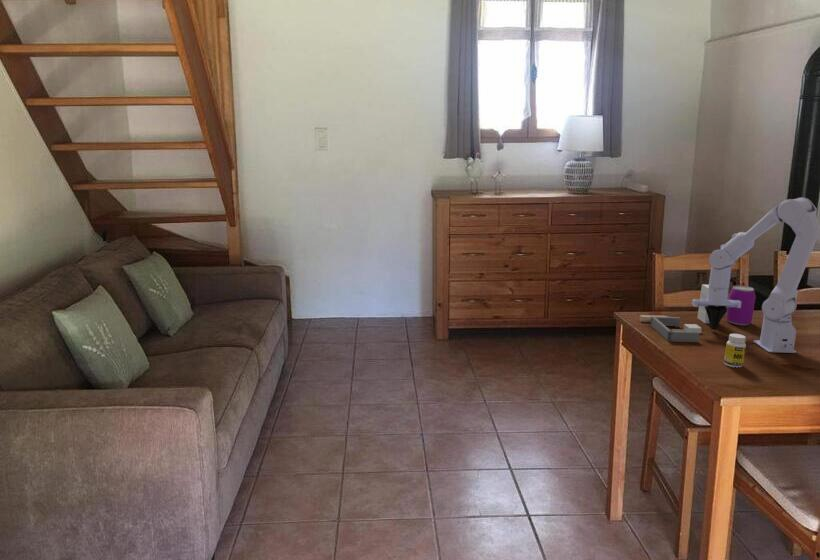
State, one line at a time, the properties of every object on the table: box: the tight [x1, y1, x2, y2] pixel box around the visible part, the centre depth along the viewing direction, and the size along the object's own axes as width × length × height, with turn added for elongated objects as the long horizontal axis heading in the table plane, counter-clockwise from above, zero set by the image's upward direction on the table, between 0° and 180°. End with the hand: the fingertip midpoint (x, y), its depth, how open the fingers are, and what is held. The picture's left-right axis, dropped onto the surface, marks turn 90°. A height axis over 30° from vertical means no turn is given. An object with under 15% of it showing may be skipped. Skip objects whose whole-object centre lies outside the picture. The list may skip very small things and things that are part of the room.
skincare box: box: [697, 283, 709, 324], centre depth 215 cm, size 6×4×12 cm
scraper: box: [638, 314, 669, 323], centre depth 215 cm, size 7×11×2 cm, turn 89°
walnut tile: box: [669, 328, 685, 331], centre depth 200 cm, size 4×4×2 cm
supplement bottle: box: [723, 333, 747, 369], centre depth 176 cm, size 5×5×8 cm
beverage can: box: [725, 285, 757, 327], centre depth 214 cm, size 8×8×12 cm
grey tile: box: [682, 323, 702, 334], centre depth 206 cm, size 4×4×2 cm
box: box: [650, 316, 700, 343], centre depth 203 cm, size 16×9×3 cm, turn 179°
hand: (713, 328), depth 205 cm, fingers closed
